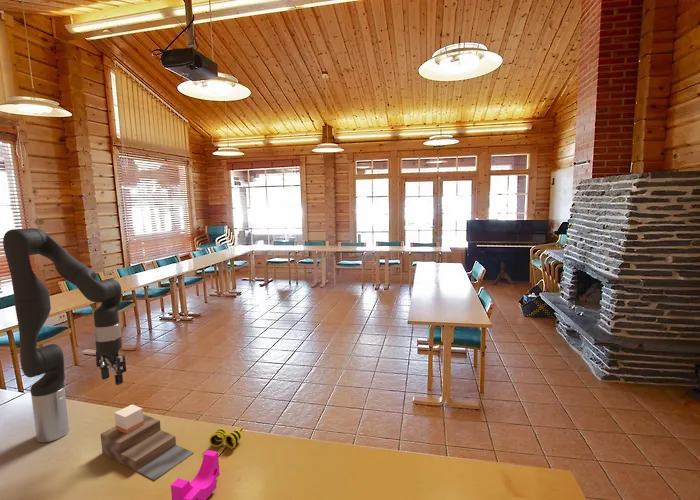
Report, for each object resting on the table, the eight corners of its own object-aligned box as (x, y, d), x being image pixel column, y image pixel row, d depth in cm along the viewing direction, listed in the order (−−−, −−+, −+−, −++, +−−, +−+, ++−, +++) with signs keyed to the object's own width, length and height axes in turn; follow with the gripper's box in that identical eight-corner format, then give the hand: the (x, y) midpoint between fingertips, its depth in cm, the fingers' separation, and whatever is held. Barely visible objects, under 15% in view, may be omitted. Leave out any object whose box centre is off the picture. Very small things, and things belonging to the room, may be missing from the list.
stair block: (102, 453, 123) (100, 434, 122) (142, 430, 135) (140, 413, 135) (154, 480, 110) (152, 459, 109) (193, 453, 122) (192, 433, 121)
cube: (116, 429, 125) (114, 412, 124) (133, 420, 130) (132, 404, 129) (126, 433, 122) (124, 417, 121) (143, 424, 127) (142, 408, 127)
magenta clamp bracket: (191, 515, 97) (189, 490, 96) (172, 510, 99) (170, 485, 98) (226, 476, 111) (225, 453, 111) (209, 472, 113) (207, 449, 112)
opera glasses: (242, 441, 128) (241, 427, 128) (235, 450, 123) (234, 437, 123) (217, 438, 130) (216, 425, 130) (209, 448, 125) (208, 434, 125)
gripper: (85, 337, 126) (89, 381, 128) (108, 344, 119) (112, 390, 121) (108, 330, 133) (112, 372, 135) (131, 336, 126) (135, 381, 128)
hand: (112, 381), depth 128 cm, fingers open, 8 cm apart
